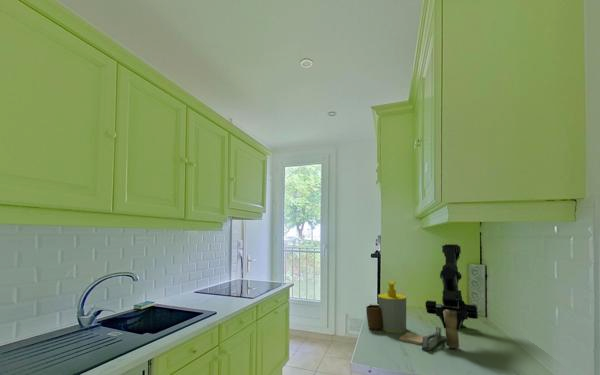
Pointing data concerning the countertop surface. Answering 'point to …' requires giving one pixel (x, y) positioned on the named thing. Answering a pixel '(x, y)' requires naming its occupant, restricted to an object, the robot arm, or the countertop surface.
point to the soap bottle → (393, 310)
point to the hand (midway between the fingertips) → (451, 328)
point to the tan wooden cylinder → (451, 328)
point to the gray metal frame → (433, 340)
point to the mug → (374, 317)
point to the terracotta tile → (412, 338)
